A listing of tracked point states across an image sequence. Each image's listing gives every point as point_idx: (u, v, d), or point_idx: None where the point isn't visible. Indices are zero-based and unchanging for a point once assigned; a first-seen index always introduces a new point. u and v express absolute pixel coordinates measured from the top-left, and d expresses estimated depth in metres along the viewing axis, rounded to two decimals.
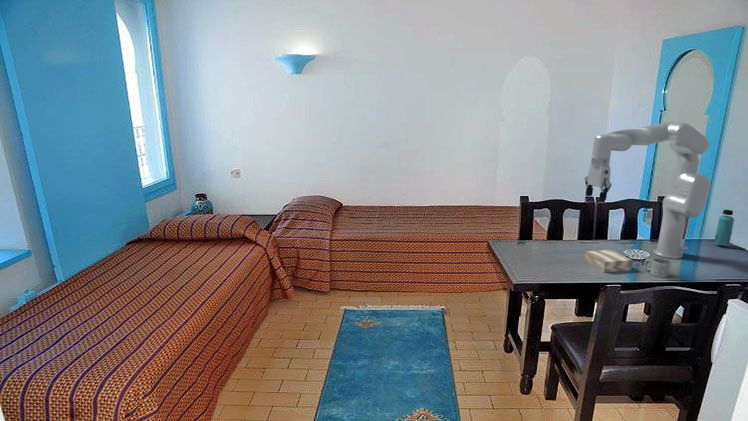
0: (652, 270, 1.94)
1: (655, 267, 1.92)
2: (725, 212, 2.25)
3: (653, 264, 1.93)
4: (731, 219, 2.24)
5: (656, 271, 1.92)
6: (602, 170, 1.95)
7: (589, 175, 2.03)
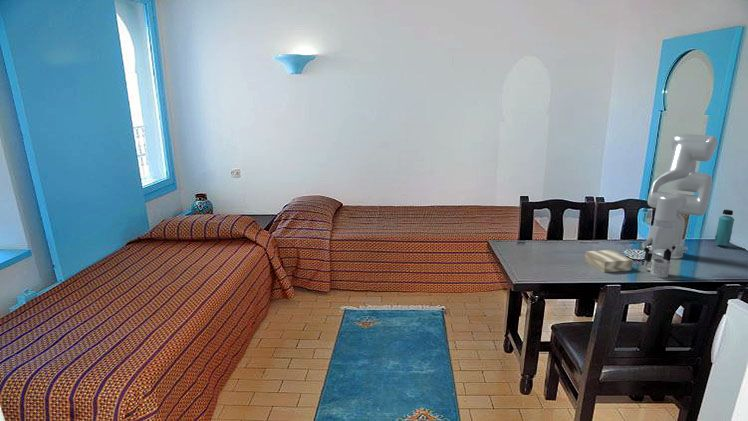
0: (652, 270, 1.94)
1: (655, 267, 1.92)
2: (725, 212, 2.25)
3: (653, 264, 1.93)
4: (731, 219, 2.24)
5: (656, 271, 1.92)
6: None
7: (658, 240, 1.88)
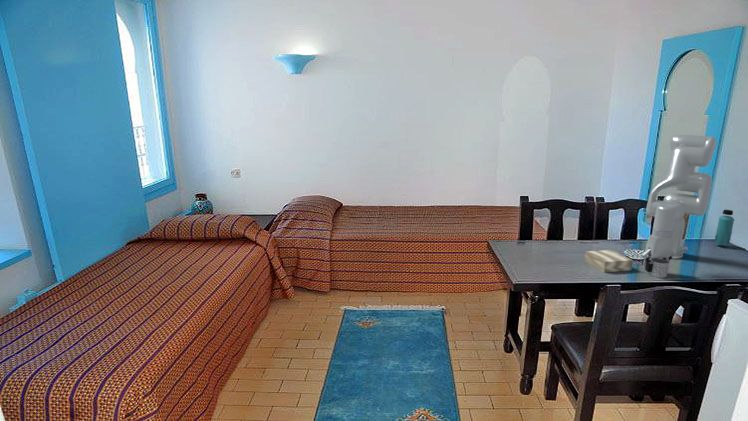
0: None
1: (654, 267, 1.92)
2: (725, 212, 2.25)
3: None
4: (731, 219, 2.24)
5: (655, 271, 1.92)
6: None
7: (657, 249, 1.90)
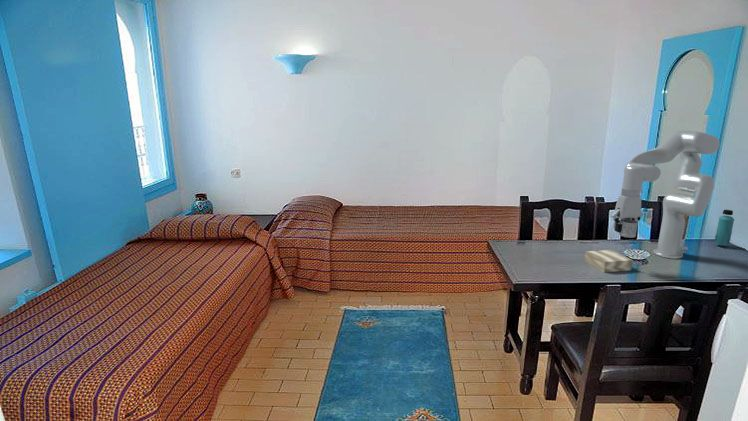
0: None
1: (623, 227, 1.94)
2: (725, 212, 2.25)
3: None
4: (731, 219, 2.24)
5: (624, 231, 1.94)
6: None
7: (626, 209, 1.92)
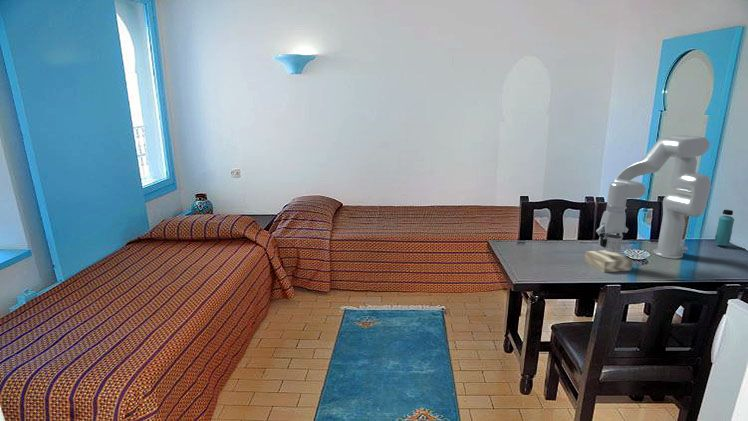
0: None
1: (608, 242, 1.99)
2: (725, 212, 2.25)
3: None
4: (731, 219, 2.24)
5: (608, 246, 1.99)
6: (625, 216, 1.98)
7: (610, 225, 1.97)
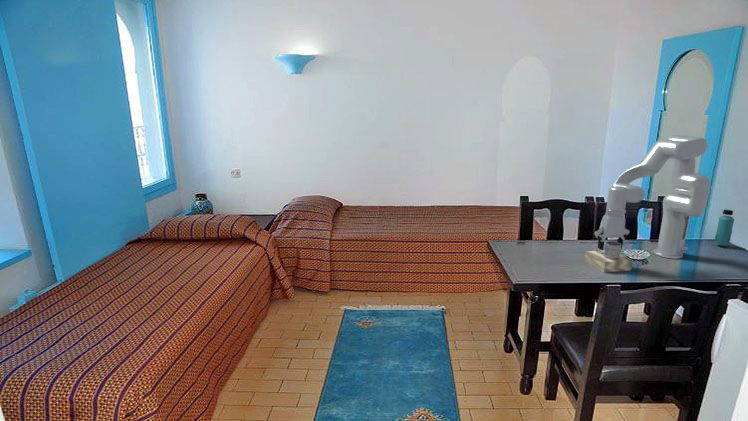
0: (604, 252, 2.01)
1: (607, 249, 2.00)
2: (725, 212, 2.25)
3: (605, 246, 2.01)
4: (731, 219, 2.24)
5: (608, 253, 2.00)
6: (624, 220, 1.98)
7: (609, 229, 1.97)
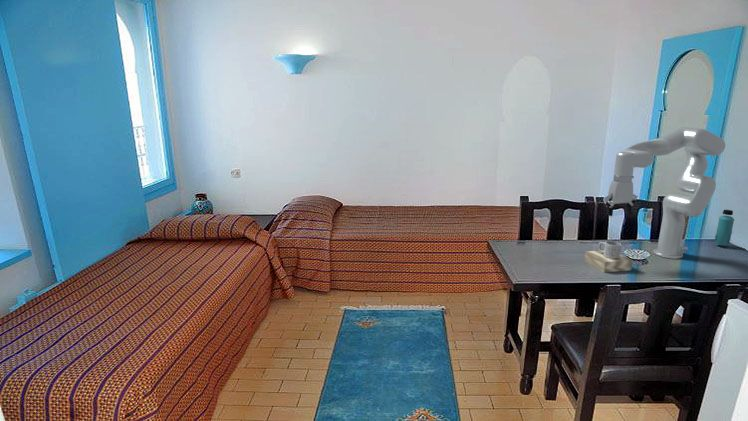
0: (604, 252, 2.01)
1: (607, 249, 2.00)
2: (725, 212, 2.25)
3: (605, 246, 2.01)
4: (731, 219, 2.24)
5: (608, 253, 2.00)
6: (632, 185, 1.99)
7: (618, 194, 1.98)
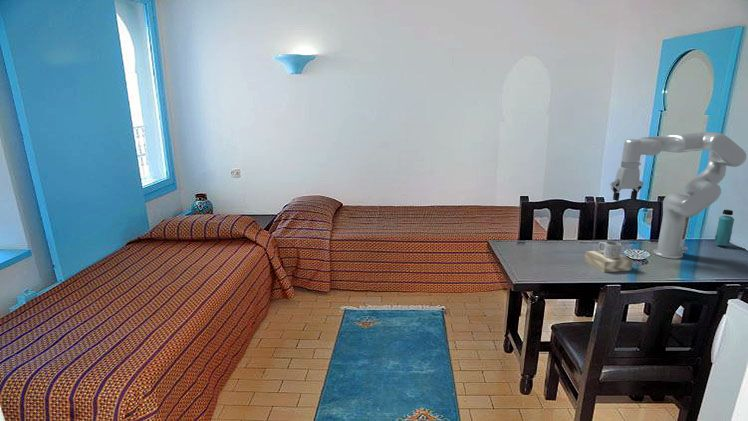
0: (604, 252, 2.01)
1: (607, 249, 2.00)
2: (725, 212, 2.25)
3: (605, 246, 2.01)
4: (731, 219, 2.24)
5: (608, 253, 2.00)
6: None
7: (625, 180, 2.07)
